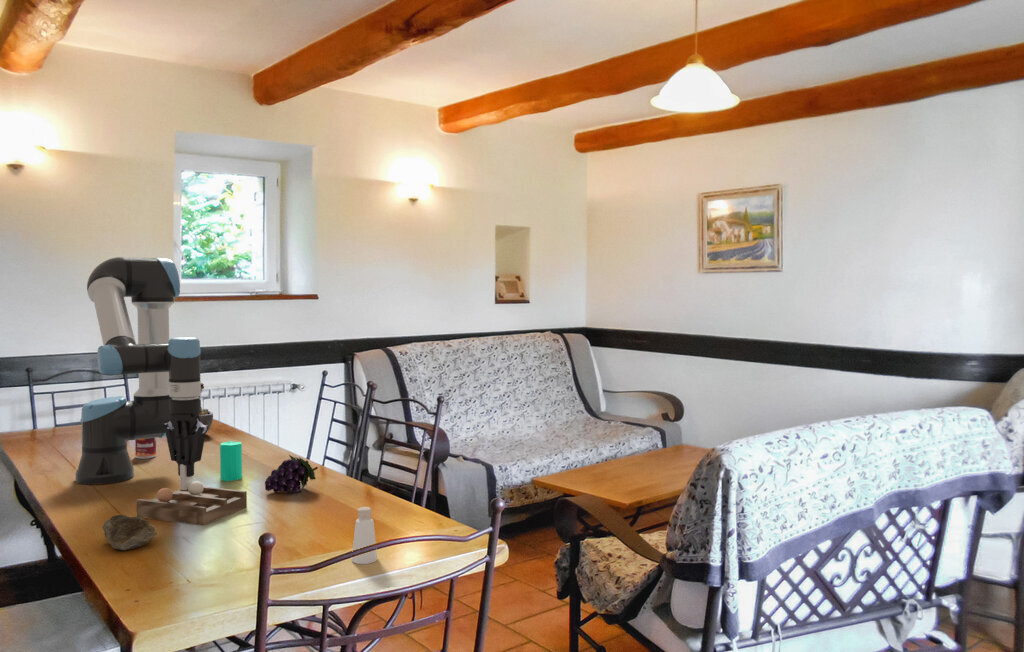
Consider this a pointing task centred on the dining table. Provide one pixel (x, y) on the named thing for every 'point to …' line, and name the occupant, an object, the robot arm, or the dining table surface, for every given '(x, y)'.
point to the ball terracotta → (164, 495)
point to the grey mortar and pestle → (205, 414)
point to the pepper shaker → (364, 536)
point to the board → (194, 506)
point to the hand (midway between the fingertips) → (186, 488)
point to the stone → (128, 532)
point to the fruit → (290, 476)
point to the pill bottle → (145, 448)
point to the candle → (230, 461)
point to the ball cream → (195, 488)
